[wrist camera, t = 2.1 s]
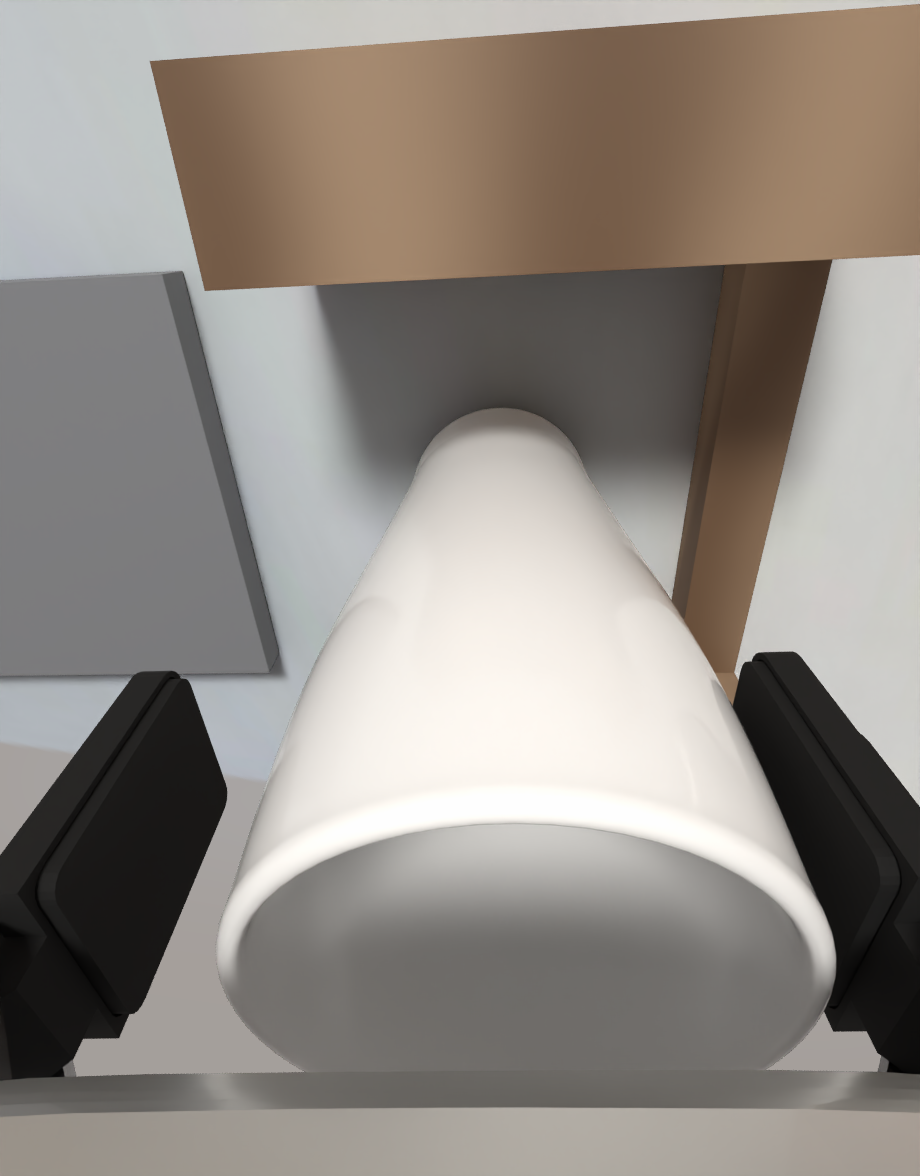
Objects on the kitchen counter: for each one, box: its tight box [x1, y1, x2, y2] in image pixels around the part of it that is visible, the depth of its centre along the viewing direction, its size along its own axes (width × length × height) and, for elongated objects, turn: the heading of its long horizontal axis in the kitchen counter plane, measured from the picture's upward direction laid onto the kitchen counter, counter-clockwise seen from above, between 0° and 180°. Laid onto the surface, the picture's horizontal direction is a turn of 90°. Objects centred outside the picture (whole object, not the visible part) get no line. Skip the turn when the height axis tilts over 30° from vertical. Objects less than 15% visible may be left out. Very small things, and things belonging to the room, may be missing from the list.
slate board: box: [0, 271, 279, 676], centre depth 20 cm, size 13×13×1 cm
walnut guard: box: [150, 4, 920, 706], centre depth 16 cm, size 13×19×7 cm
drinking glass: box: [216, 408, 836, 1072], centre depth 13 cm, size 7×7×15 cm
